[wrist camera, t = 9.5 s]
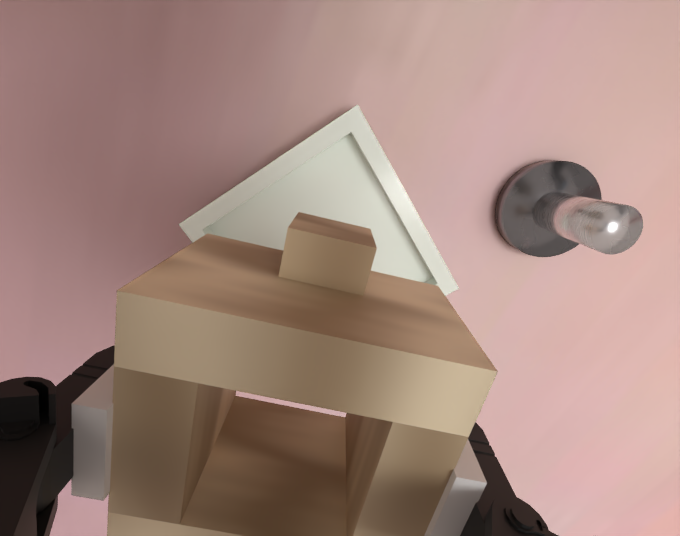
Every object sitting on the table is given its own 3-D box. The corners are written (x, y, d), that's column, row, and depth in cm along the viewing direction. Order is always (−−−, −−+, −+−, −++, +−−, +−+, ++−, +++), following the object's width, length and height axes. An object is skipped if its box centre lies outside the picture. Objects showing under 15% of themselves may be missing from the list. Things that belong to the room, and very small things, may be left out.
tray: (191, 218, 28) (178, 224, 26) (356, 108, 25) (357, 104, 23) (298, 360, 32) (294, 376, 30) (450, 277, 29) (459, 288, 27)
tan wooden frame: (184, 423, 14) (106, 559, 10) (212, 191, 11) (119, 222, 7) (377, 460, 15) (393, 607, 10) (451, 247, 12) (523, 313, 7)
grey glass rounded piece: (480, 192, 27) (533, 209, 20) (568, 141, 26) (662, 138, 18) (516, 267, 29) (578, 309, 21) (600, 222, 28) (697, 250, 20)
